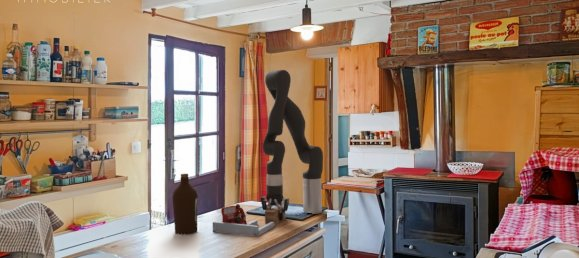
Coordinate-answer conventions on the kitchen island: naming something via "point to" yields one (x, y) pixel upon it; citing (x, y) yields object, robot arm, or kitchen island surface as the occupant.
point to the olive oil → (185, 207)
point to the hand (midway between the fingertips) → (275, 219)
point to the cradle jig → (242, 228)
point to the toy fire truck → (233, 215)
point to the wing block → (272, 215)
